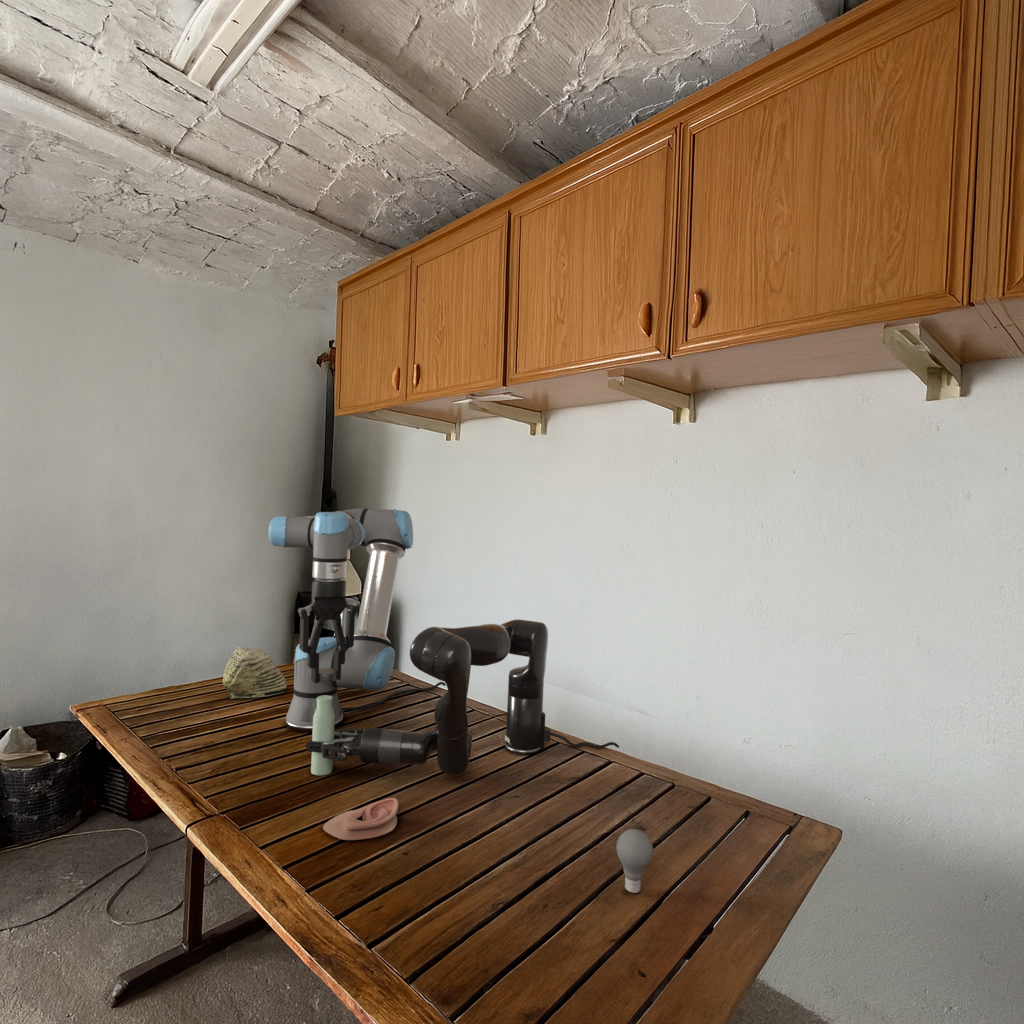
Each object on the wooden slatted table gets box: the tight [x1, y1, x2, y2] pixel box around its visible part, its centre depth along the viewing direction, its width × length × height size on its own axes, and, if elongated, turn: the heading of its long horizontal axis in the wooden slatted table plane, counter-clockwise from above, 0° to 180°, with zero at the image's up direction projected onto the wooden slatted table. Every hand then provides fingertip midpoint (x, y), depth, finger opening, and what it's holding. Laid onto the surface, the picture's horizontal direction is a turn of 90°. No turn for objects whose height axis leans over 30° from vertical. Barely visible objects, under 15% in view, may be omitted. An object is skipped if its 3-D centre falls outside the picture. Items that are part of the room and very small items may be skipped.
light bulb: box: [615, 828, 654, 894], centre depth 106 cm, size 6×6×10 cm
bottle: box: [310, 695, 335, 776], centre depth 146 cm, size 5×5×17 cm
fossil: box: [222, 646, 288, 699], centre depth 198 cm, size 9×18×15 cm, turn 132°
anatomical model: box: [322, 797, 399, 841], centre depth 122 cm, size 13×4×12 cm
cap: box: [318, 668, 337, 683], centre depth 146 cm, size 5×5×2 cm
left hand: (325, 679), depth 146 cm, fingers closed on cap, 4 cm apart
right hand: (311, 741), depth 146 cm, fingers closed on bottle, 4 cm apart
